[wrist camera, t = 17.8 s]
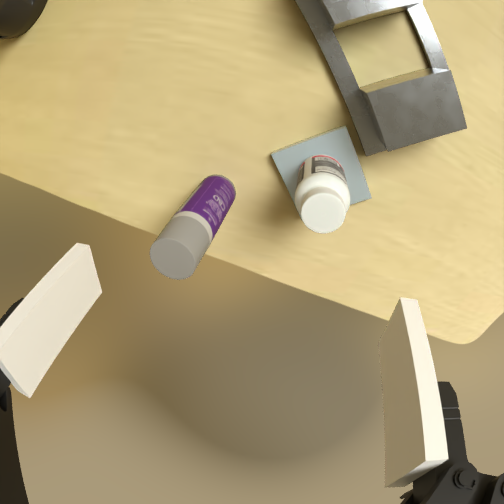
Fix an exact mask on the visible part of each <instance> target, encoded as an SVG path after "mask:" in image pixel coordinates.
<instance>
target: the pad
mask: <svg viewBox="0 0 504 504" xmlns="http://www.w3.org/2000/svg"><path fill="white" fill-rule="evenodd" d="M317 154H325V155H329V156H332V157H333V158H335V159H336V160H337V161H338V162H339V163H340V164H341V165H342V167H343V170H344V173H345V176H346V180H347V184H348V188H349V192H350V205H351V204H354V203H357V202H360V201H364V200H367V199H370V198H371V194H370V191H369V188H368V185H367V182H366V179H365V177H364V174H363V171H362V168H361V165H360V162H359V160H358V157H357V154H356V151H355V149H354V146H353V143H352V141H351V138H350V136H349V133H348V131H347V128H346V126H345V125H344V126H341V127H338V128H335V129H333V130H330V131H327V132H324V133H321V134H319V135H316V136H313V137H310V138H308V139H305V140H302V141H300V142H297V143H294V144H292V145H289V146H287V147H284V148H281V149H279V150H276V151H274V152H272V154H271V155H272V158H273V160H274V162H275V164H276V166H277V168H278V170H279V172H280V174H281V176H282V178H283V181H284V183H285V185H286V187H287V189H288V191H289V193H290V196H291V198H292V200H293V202H294V204H295V191H296V185H297V177H298V172H299V168H300V166H301V164H302V163H303V162H304V161H305V160H306V159H307V158H309V157H310V156H313V155H317ZM295 207H296V205H295ZM296 209H297V208H296ZM297 211H298V210H297ZM298 213H299V212H298ZM299 215H300V214H299ZM300 218H301V215H300ZM301 220H302V218H301Z"/></svg>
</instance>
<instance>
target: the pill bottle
mask: <svg viewBox="0 0 504 504" xmlns="http://www.w3.org/2000/svg"><path fill="white" fill-rule="evenodd" d="M295 205H296V208H297V210H298V212H299V214H300V215H301V218H302V220H303V222H304V224H305V225H306V226H307V227H308V228H309V229H310V230H312V231H314V232H317V233H330V232H333V231H335V230H336V229H338V228H339V227H340V226H341V225H342V223H343V222H344V219H345V215H346V212H347V211H348V209H349V206H350V192H349V188H348V184H347V180H346V176H345V173H344V170H343V167H342V165H341V164H340V163H339V162H338V161H337V160H336V159H335V158H333V157H332V156H329V155H325V154H317V155H313V156H310V157H309V158H307V159H306V160H305V161H304V162H303V163H302V164H301V166H300V168H299V172H298V177H297V185H296V191H295Z"/></svg>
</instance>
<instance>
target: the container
mask: <svg viewBox="0 0 504 504" xmlns="http://www.w3.org/2000/svg"><path fill="white" fill-rule="evenodd" d="M235 196H236V191H235V187H234V185H233V183H232V182H231V181H230V180H229V179H228V178H226V177H224V176H222V175H211V176H208V177H207V178H205V179H204V180H203V181H202V183H201V184H200V185H199V186H198V187H197V188H196V190H195V191H194V192H193V193H192V194H191V195H190V197H189V198H188V199H187V200H186V201H185V202H184V204H183V205H182V206H181V207H180V208H179V210H178V211H177V212H176V213H175V215H174V216H173V217H172V218H171V220H170V221H169V222H168V224H167V225H166V227H165V228H164V229H163V231H162V232H161V233H160V235H159V236H158V238H157V239H156V240H155V242H154V243H153V244H152V246H151V248H150V258H151V261H152V263H153V265H154V266H155V268H156V269H157V270H158V271H159V272H160V273H162V274H163V275H165V276H166V277H169V278H172V279H177V280H179V279H186V278H188V277H190V276H191V275H192V274H193V272H194V271H195V269H196V267H197V265H198V264H199V262H200V260H201V259H202V257H203V255H204V254H205V252H206V250H207V249H208V247H209V245H210V244H211V242H212V240H213V238H214V236H215V234H216V233H217V231H218V229H219V227H220V225H221V223H222V222H223V220H224V218H225V216H226V214H227V212H228V211H229V209H230V207H231V205H232V203H233V201H234V199H235Z"/></svg>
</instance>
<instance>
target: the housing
mask: <svg viewBox="0 0 504 504" xmlns="http://www.w3.org/2000/svg"><path fill="white" fill-rule="evenodd" d="M295 1H296V3H297V5H298V7H299V8H300V10H301V12H302V14H303V16H304V17H305V19H306V21H307V23H308V25H309V27H310V29H311V30H312V32H313V34H314V36H315V38H316V40H317V42H318V44H319V46H320V48H321V50H322V52H323V54H324V56H325V58H326V60H327V63H328V65H329V67H330V69H331V71H332V73H333V75H334V78H335V80H336V82H337V84H338V87H339V89H340V91H341V93H342V96H343V98H344V100H345V103H346V105H347V108H348V110H349V113H350V115H351V117H352V120H353V123H354V125H355V128H356V130H357V133H358V135H359V138H360V141H361V144H362V146H363V149H364V152H365V155H366V156H369V155H372V154H375V153H378V152H381V151H385V150H387V151H388V152H389V151H392V150H395V149H398V148H402V147H405V146H408V145H411V144H415V143H418V142H421V141H425V140H428V139H431V138H435V137H438V136H442V135H445V134H449V133H452V132H456V131H459V130H463V129H466V128H467V126H466V122H465V118H464V114H463V110H462V106H461V103H460V99H459V96H458V92H457V89H456V86H455V82H454V79H453V76H452V73H451V70H449V68H448V65H447V62H446V59H445V57H444V54H443V51H442V49H441V46H440V43H439V41H438V38H437V36H436V34H435V31H434V29H433V26H432V24H431V22H430V20H429V17H428V15H427V13H426V11H425V9H424V7H423V4H422V0H295ZM405 10H406V12H407V14H408V16H409V18H410V20H411V22H412V24H413V27H414V29H415V31H416V33H417V36H418V38H419V41H420V43H421V45H422V48H423V50H424V53H425V55H426V58H427V61H428V63H429V66H430V68H426V69H422V70H418V71H414V72H411V73H407V74H403V75H400V76H396V77H393V78H389V79H386V80H382V81H379V82H376V83H373V84H369V85H366V86H363V87H360V88H359V87H358V84H357V82H356V80H355V77H354V75H353V73H352V70H351V68H350V66H349V64H348V62H347V59H346V57H345V55H344V53H343V51H342V49H341V47H340V45H339V42H338V40H337V38H336V36H335V34H334V32H333V30H336V29H339V28H342V27H345V26H348V25H352V24H355V23H358V22H362V21H365V20H369V19H372V18H376V17H380V16H384V15H388V14H392V13H396V12H401V11H405Z"/></svg>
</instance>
